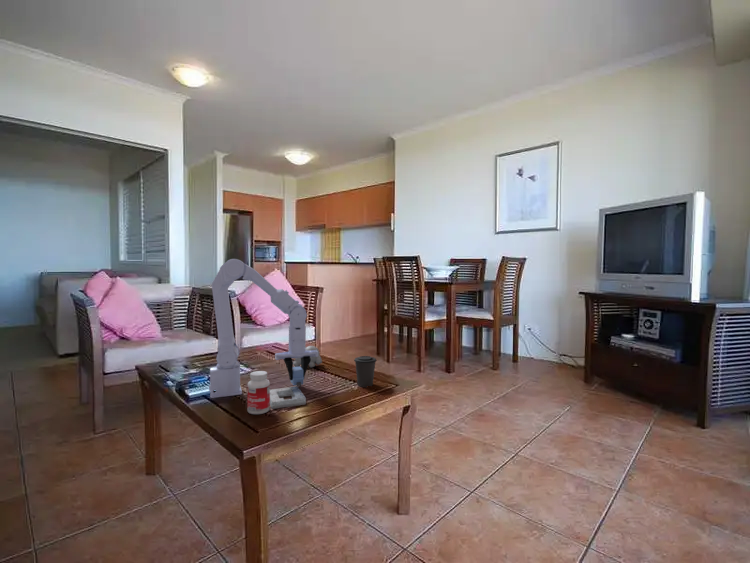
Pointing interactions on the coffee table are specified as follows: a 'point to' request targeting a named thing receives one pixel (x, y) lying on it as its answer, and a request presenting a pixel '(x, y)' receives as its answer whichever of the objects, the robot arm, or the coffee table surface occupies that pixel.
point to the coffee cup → (365, 370)
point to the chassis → (283, 392)
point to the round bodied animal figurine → (313, 359)
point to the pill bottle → (258, 393)
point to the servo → (297, 376)
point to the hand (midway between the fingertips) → (296, 378)
